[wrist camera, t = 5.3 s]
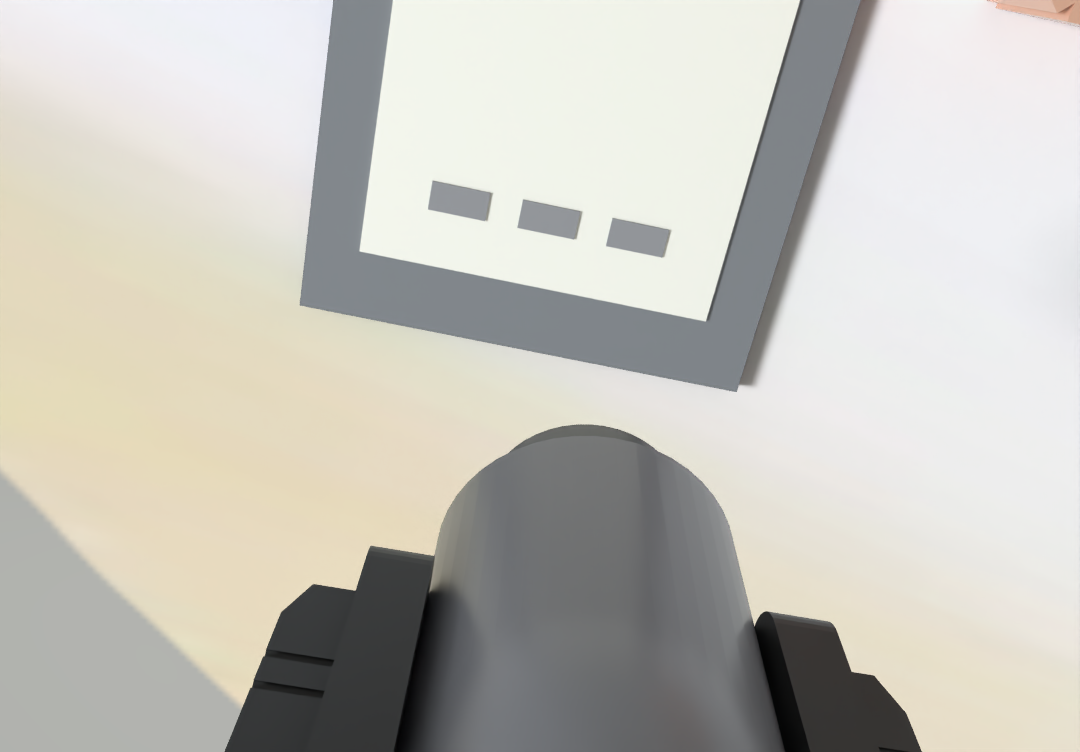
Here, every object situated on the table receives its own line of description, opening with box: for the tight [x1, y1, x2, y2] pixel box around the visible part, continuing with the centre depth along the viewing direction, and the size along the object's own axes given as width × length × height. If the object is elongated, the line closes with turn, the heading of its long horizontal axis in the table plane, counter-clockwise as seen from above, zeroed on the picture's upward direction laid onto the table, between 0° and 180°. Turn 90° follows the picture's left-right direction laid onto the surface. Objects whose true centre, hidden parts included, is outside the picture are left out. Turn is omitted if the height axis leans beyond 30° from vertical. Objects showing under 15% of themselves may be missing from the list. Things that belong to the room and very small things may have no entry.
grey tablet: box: [300, 0, 861, 392], centre depth 26 cm, size 17×13×1 cm
